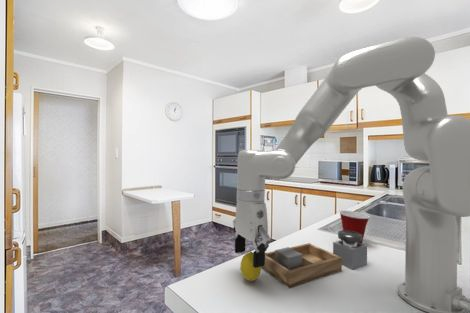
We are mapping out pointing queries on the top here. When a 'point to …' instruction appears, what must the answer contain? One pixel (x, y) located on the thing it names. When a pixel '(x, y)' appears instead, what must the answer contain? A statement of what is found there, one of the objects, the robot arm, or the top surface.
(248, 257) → the lemon
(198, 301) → the top surface
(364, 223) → the plastic cup
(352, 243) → the plunger
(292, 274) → the caddy
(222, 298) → the top surface
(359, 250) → the mount
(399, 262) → the top surface
